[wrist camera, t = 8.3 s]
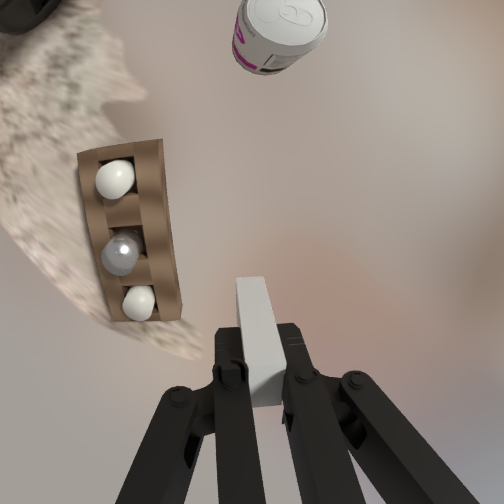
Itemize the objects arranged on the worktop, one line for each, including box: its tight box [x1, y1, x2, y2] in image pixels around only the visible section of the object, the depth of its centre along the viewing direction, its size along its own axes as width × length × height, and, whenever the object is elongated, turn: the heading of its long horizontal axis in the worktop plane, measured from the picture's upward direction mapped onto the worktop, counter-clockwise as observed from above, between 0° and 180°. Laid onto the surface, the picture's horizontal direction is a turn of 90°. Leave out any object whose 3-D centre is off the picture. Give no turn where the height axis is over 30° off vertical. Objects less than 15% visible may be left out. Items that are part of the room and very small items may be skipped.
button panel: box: [77, 139, 182, 321], centre depth 39 cm, size 26×11×4 cm, turn 1°
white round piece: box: [95, 158, 137, 199], centre depth 34 cm, size 4×4×4 cm
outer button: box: [122, 285, 156, 321], centre depth 41 cm, size 4×4×4 cm
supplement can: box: [232, 0, 328, 75], centre depth 25 cm, size 8×8×15 cm
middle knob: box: [101, 229, 143, 276], centre depth 35 cm, size 4×4×4 cm
